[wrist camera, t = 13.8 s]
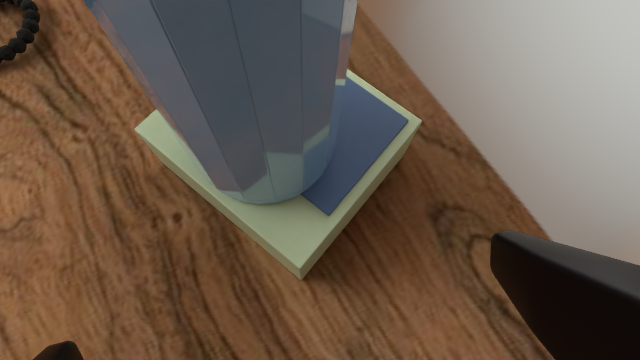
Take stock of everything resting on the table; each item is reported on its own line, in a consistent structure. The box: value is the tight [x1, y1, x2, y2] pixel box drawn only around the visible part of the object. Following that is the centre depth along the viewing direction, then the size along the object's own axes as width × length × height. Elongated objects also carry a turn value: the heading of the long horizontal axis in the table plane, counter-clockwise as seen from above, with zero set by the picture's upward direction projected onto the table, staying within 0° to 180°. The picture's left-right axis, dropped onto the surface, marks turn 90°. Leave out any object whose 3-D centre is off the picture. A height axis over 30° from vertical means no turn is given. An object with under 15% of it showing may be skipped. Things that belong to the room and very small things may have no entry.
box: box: [135, 69, 422, 280], centre depth 21 cm, size 10×9×4 cm
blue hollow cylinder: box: [83, 0, 358, 204], centre depth 13 cm, size 6×6×12 cm
